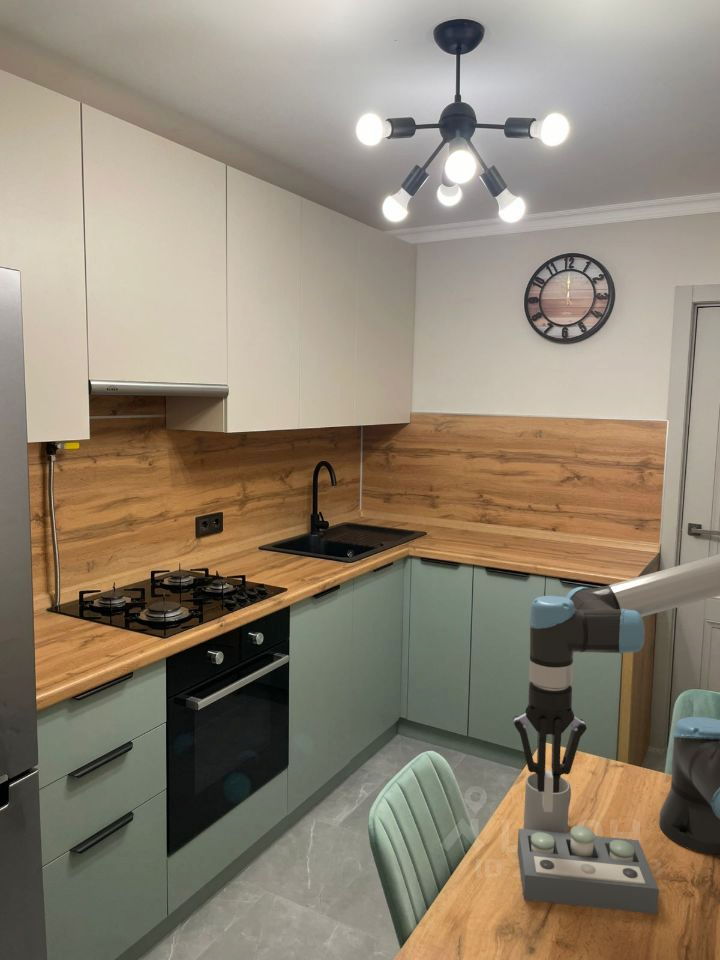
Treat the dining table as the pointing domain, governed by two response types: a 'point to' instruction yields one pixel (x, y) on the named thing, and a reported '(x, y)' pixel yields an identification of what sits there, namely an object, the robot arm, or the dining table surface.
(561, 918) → the dining table surface
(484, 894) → the dining table surface
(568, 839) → the button board
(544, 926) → the dining table surface
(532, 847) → the button
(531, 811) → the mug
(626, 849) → the button
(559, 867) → the card
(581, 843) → the button mid
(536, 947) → the dining table surface
